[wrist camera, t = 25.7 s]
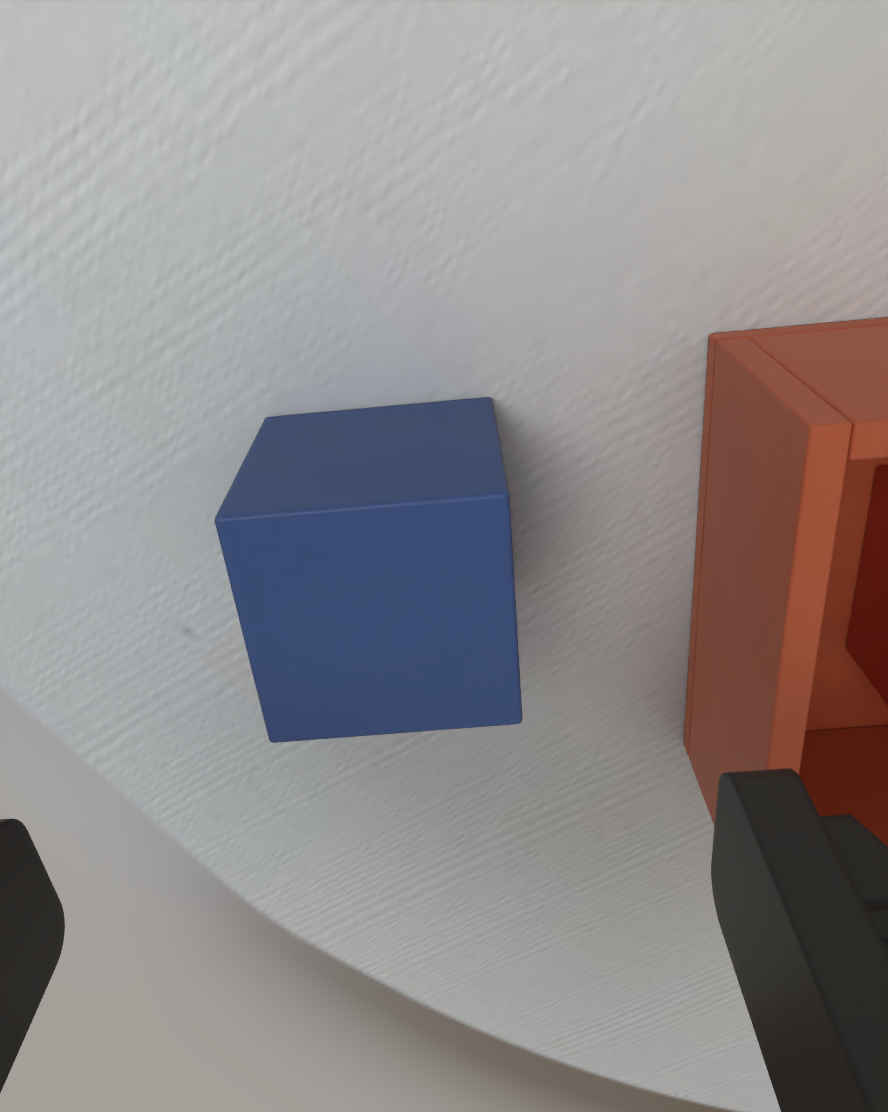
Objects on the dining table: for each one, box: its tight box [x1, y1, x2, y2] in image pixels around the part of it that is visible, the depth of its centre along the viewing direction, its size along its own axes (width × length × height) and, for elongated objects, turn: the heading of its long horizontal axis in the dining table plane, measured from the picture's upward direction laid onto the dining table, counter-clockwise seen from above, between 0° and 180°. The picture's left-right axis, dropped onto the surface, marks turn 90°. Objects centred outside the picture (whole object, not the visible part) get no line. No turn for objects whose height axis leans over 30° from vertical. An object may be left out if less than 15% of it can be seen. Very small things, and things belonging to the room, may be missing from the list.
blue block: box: [215, 397, 522, 743], centre depth 16 cm, size 4×4×4 cm
